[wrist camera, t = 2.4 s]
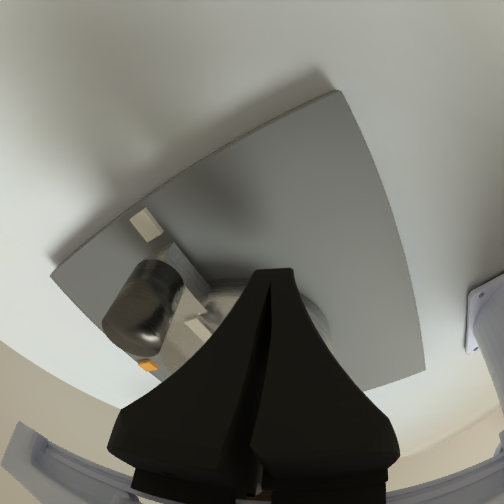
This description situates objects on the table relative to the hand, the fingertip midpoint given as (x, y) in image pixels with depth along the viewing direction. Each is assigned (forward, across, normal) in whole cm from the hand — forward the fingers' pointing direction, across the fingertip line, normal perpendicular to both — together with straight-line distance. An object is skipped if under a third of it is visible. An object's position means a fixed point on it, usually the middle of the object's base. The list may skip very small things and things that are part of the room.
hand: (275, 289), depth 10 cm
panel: (+4, +2, +6) cm, 8 cm away
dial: (+3, +3, +5) cm, 6 cm away
